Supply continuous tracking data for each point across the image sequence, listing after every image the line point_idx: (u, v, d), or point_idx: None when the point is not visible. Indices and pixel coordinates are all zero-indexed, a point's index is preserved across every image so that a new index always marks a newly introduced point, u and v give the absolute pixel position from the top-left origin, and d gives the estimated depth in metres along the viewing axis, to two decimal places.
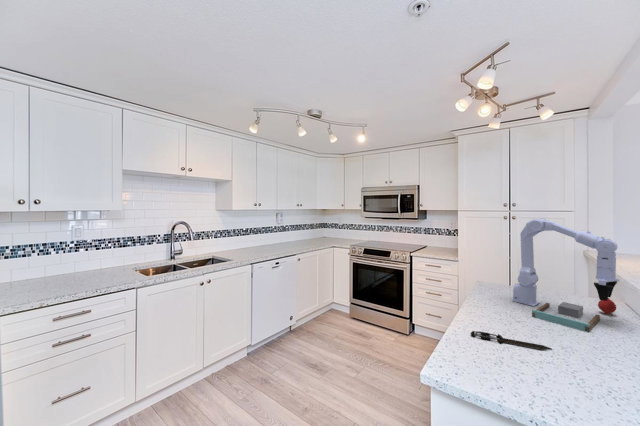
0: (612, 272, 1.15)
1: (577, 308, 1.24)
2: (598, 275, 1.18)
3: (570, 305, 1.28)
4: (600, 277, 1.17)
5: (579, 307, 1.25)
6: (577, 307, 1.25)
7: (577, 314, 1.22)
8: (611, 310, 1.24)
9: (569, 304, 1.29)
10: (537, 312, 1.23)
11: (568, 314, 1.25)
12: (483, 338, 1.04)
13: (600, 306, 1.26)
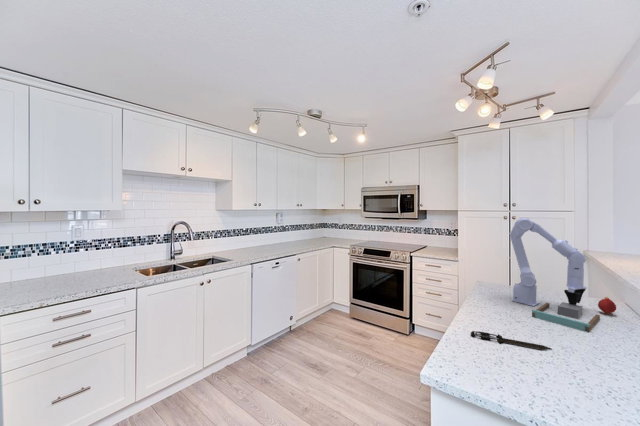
0: (580, 280, 1.28)
1: (577, 308, 1.23)
2: (568, 283, 1.31)
3: (569, 305, 1.27)
4: (570, 285, 1.30)
5: (579, 307, 1.24)
6: (577, 307, 1.24)
7: (577, 314, 1.21)
8: (611, 310, 1.24)
9: (569, 304, 1.28)
10: (537, 312, 1.23)
11: (568, 314, 1.24)
12: (483, 338, 1.04)
13: (600, 306, 1.26)
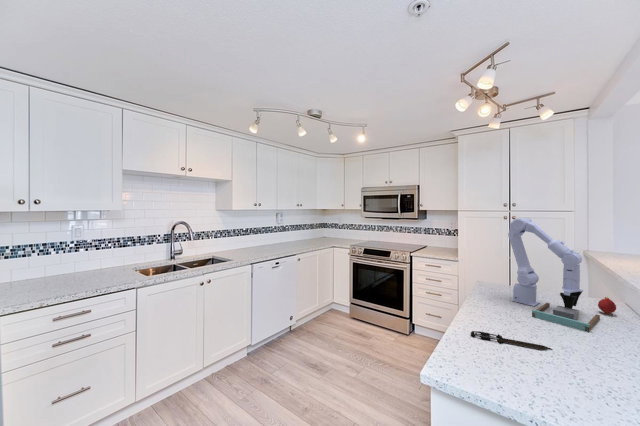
0: (576, 283, 1.24)
1: (572, 312, 1.19)
2: (564, 286, 1.27)
3: (565, 309, 1.23)
4: (566, 288, 1.26)
5: (575, 311, 1.20)
6: (573, 311, 1.20)
7: (572, 318, 1.17)
8: (611, 310, 1.24)
9: (564, 308, 1.24)
10: (537, 312, 1.23)
11: None
12: (483, 338, 1.04)
13: (600, 306, 1.26)
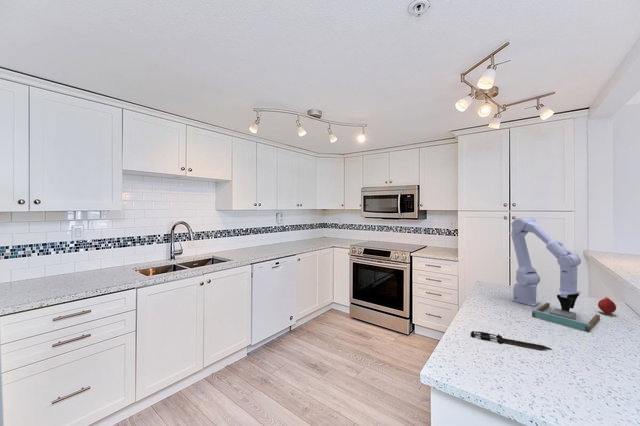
0: (573, 285, 1.21)
1: (570, 315, 1.16)
2: (561, 287, 1.24)
3: (562, 311, 1.20)
4: (563, 289, 1.23)
5: (572, 314, 1.17)
6: (570, 314, 1.18)
7: None
8: (611, 310, 1.24)
9: (561, 310, 1.21)
10: (537, 312, 1.23)
11: None
12: (483, 338, 1.04)
13: (600, 306, 1.26)
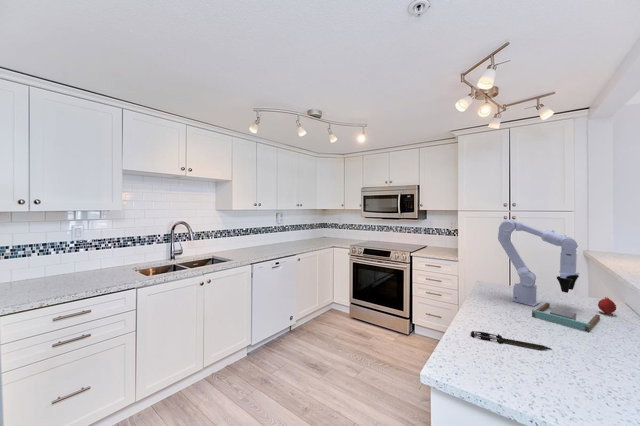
0: (572, 267, 1.28)
1: (570, 315, 1.16)
2: (561, 269, 1.31)
3: (562, 311, 1.20)
4: (562, 271, 1.30)
5: (572, 314, 1.17)
6: (570, 314, 1.18)
7: None
8: (611, 310, 1.24)
9: (562, 310, 1.21)
10: (537, 312, 1.23)
11: None
12: (483, 338, 1.04)
13: (600, 306, 1.26)
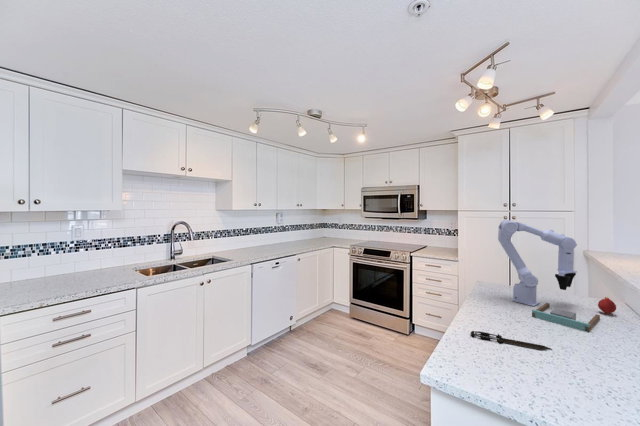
0: (570, 265, 1.32)
1: (570, 315, 1.16)
2: (559, 267, 1.35)
3: (562, 311, 1.20)
4: (560, 269, 1.34)
5: (572, 314, 1.17)
6: (570, 314, 1.18)
7: None
8: (611, 310, 1.24)
9: (561, 310, 1.21)
10: (537, 312, 1.23)
11: None
12: (483, 338, 1.04)
13: (600, 306, 1.26)
